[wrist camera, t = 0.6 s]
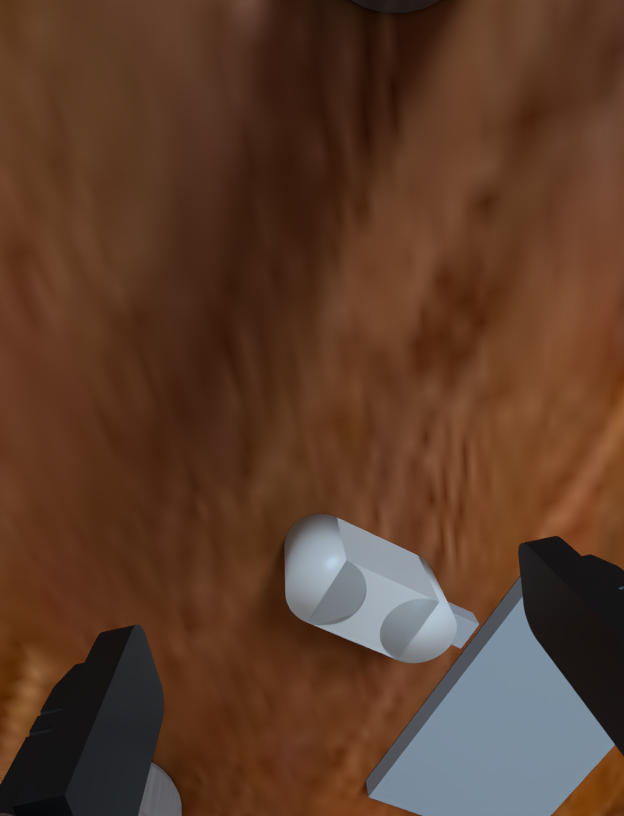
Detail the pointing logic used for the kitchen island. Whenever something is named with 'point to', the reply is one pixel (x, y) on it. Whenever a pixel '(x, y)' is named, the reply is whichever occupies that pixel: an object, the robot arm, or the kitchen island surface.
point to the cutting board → (494, 732)
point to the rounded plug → (369, 591)
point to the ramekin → (160, 795)
